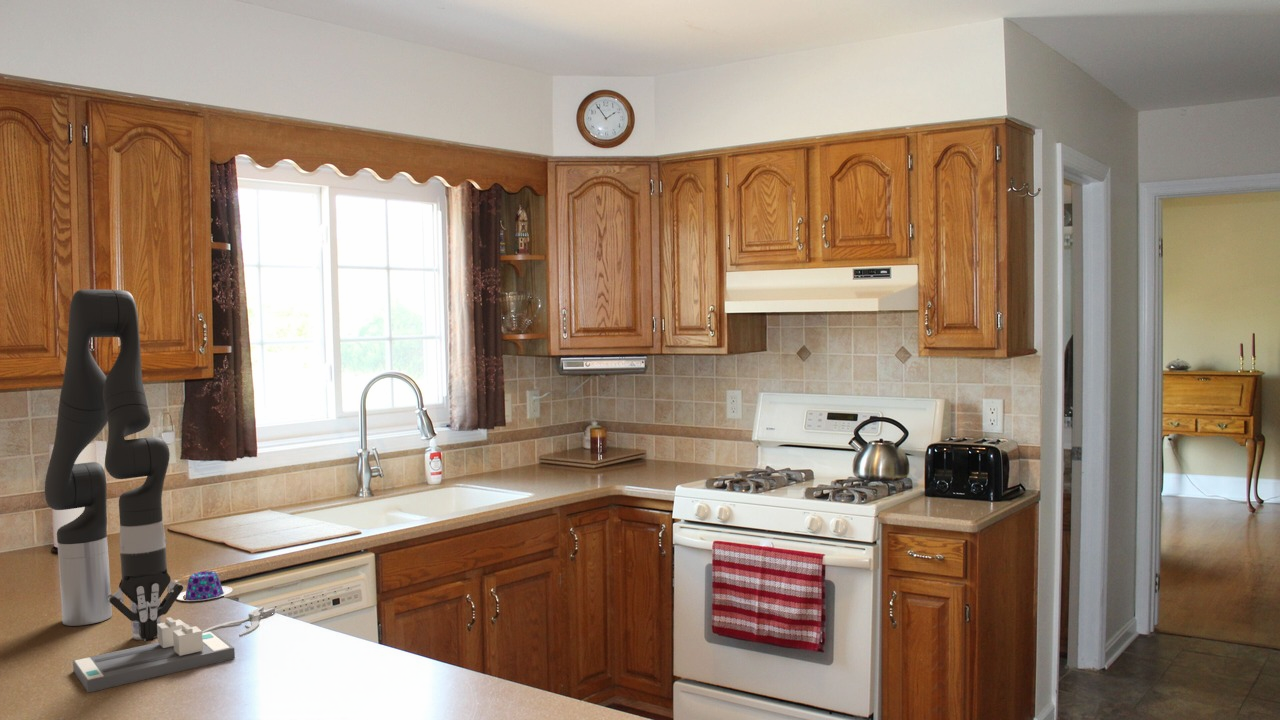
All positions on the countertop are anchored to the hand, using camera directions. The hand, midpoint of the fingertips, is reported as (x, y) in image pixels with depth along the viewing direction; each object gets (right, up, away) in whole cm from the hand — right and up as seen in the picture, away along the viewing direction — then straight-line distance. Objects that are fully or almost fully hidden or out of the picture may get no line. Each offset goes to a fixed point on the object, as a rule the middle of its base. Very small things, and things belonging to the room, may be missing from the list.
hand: (148, 639), depth 186 cm
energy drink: (-8, -4, +15) cm, 17 cm away
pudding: (-9, -3, +44) cm, 45 cm away
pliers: (+10, -3, +21) cm, 23 cm away
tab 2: (+8, -1, -2) cm, 9 cm away
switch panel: (+2, -4, -3) cm, 5 cm away
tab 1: (+3, -1, +2) cm, 4 cm away
